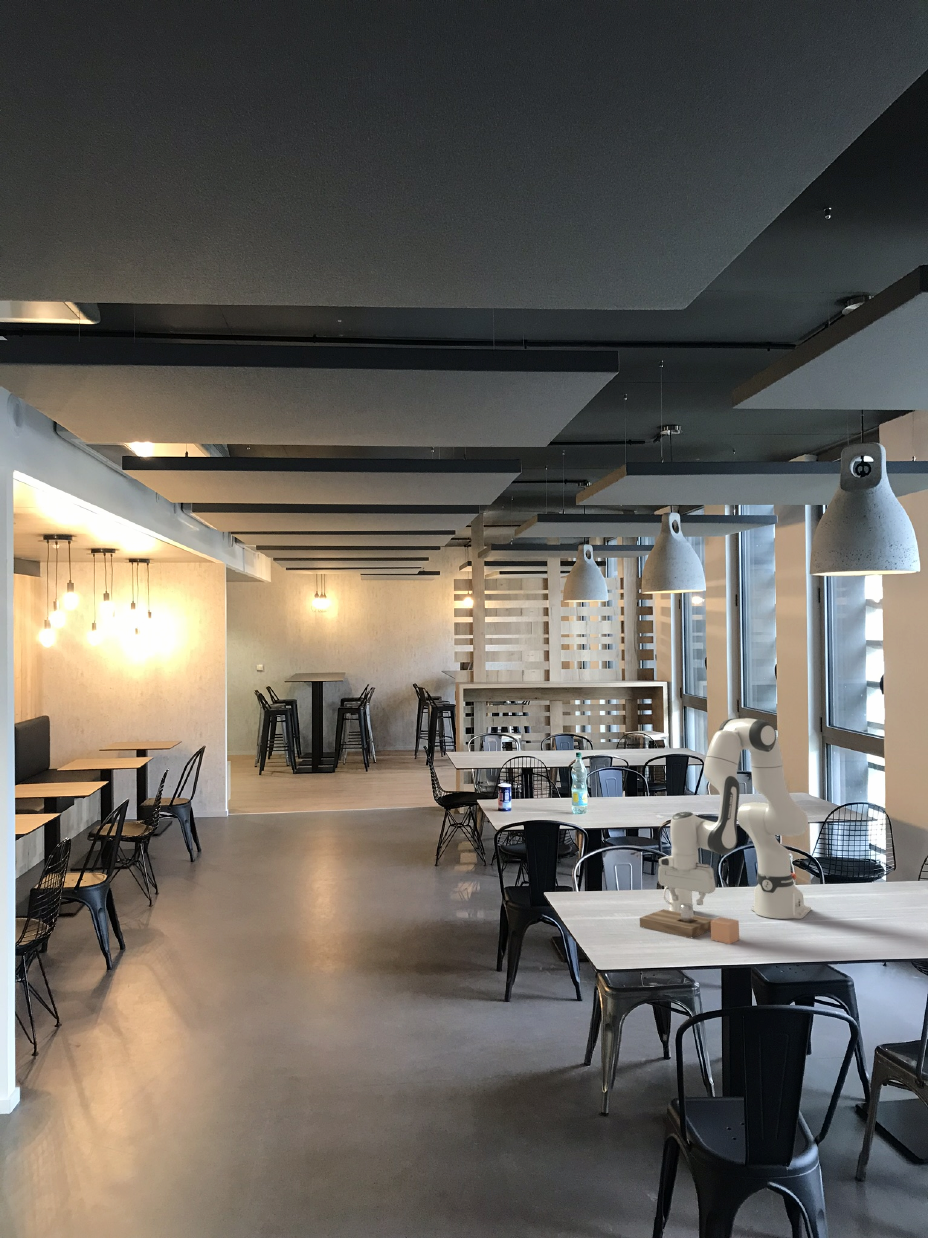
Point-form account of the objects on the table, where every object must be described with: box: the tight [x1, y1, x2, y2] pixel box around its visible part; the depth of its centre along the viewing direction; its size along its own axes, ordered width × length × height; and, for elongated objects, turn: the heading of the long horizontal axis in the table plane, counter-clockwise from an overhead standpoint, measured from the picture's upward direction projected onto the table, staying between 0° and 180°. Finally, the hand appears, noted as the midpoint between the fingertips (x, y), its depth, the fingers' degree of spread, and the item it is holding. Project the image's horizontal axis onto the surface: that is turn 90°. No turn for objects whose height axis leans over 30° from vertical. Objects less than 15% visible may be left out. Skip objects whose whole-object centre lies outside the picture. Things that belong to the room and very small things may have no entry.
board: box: [639, 908, 715, 938], centre depth 290 cm, size 15×20×3 cm
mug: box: [662, 886, 693, 913], centre depth 311 cm, size 12×8×12 cm
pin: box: [681, 903, 694, 924], centre depth 288 cm, size 4×4×8 cm
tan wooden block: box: [710, 916, 740, 945], centre depth 275 cm, size 6×6×6 cm
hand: (687, 902), depth 288 cm, fingers open, 8 cm apart
